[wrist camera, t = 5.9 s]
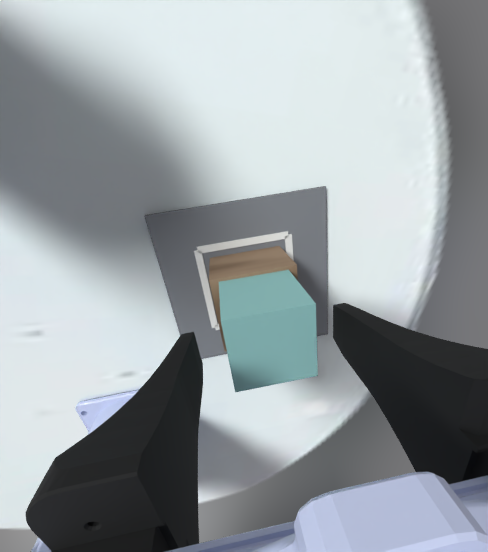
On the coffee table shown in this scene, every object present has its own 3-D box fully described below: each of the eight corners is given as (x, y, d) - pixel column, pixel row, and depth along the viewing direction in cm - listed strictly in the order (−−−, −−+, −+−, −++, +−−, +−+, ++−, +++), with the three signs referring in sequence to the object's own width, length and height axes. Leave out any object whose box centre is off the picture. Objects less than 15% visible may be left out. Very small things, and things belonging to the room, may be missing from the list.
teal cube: (292, 328, 16) (317, 375, 12) (229, 339, 15) (235, 392, 12) (288, 269, 14) (316, 303, 10) (218, 281, 14) (220, 320, 10)
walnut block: (284, 306, 20) (301, 336, 16) (222, 317, 19) (224, 351, 16) (279, 245, 18) (296, 264, 14) (209, 257, 17) (208, 280, 14)
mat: (326, 331, 21) (328, 334, 21) (188, 358, 21) (187, 362, 20) (324, 186, 17) (326, 186, 16) (145, 215, 16) (144, 216, 16)
